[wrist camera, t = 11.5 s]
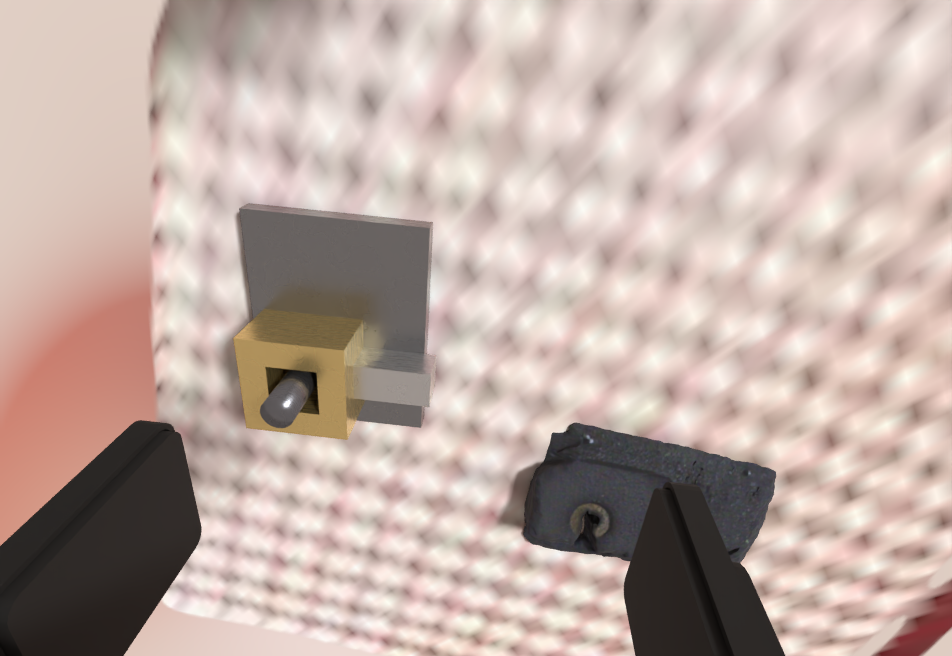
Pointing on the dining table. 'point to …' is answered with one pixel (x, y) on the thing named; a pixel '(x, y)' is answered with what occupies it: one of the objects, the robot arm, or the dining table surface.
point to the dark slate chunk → (635, 491)
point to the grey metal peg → (288, 398)
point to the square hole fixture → (337, 317)
